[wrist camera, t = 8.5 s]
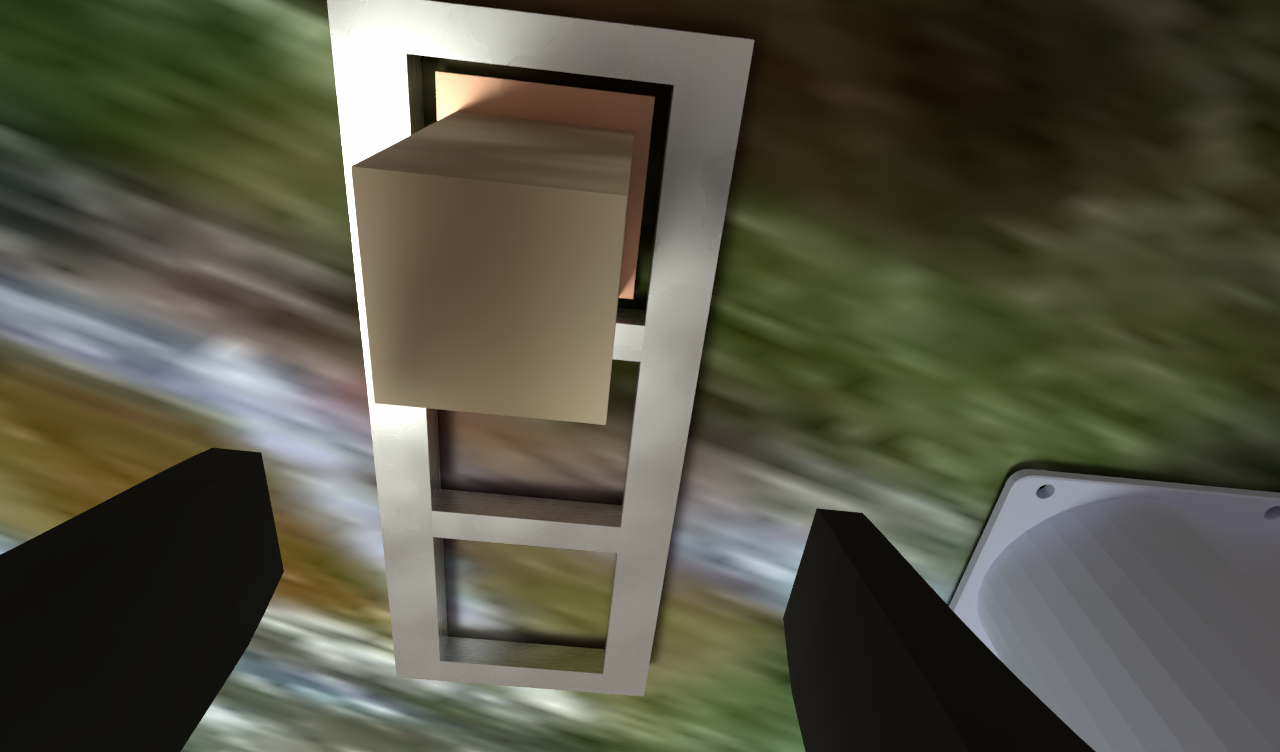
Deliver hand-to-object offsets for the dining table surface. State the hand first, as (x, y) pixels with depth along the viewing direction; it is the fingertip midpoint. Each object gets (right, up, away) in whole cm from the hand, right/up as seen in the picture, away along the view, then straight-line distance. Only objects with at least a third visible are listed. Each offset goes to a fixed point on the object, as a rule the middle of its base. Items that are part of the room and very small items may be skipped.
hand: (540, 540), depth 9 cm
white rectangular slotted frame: (-2, +1, +10) cm, 10 cm away
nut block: (-1, +6, +7) cm, 9 cm away
